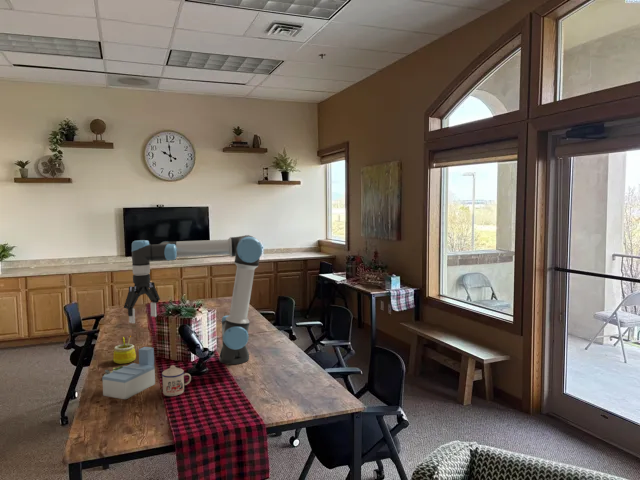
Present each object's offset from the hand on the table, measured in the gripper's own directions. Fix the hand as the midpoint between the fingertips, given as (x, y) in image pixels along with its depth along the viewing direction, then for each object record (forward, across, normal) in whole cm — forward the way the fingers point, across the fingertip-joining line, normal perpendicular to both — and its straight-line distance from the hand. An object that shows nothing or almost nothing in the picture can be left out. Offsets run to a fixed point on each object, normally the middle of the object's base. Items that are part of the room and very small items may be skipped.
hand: (143, 319), depth 226 cm
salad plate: (+28, +3, -10) cm, 29 cm away
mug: (+27, -14, -26) cm, 40 cm away
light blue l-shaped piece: (+21, +13, +5) cm, 25 cm away
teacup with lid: (+27, +9, +26) cm, 39 cm away
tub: (+27, +15, +5) cm, 31 cm away
